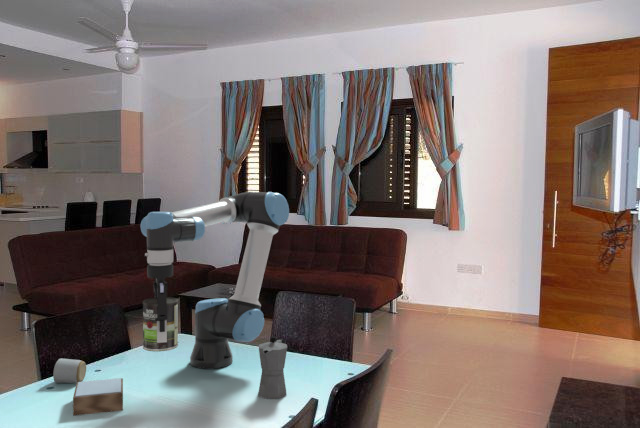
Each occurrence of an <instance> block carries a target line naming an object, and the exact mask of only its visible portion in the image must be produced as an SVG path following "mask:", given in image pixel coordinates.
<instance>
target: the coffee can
mask: <svg viewBox="0 0 640 428" xmlns="http://www.w3.org/2000/svg"><path fill="white" fill-rule="evenodd" d="M166 300H167V342H163V343H157V321H155V318H158V317H157V306H158V304H157V299H156V298H155V296H154V297H149V298H145V299H143V300H142V320H143V321H142V324H143V325H142V341H143V342H142V349H143V350H145V351H147V352H155V353H156V352H157V353H158V352H165V351H166V352H167V351H168V352H169V351H171V350H175V349H177V347H178V346H179V342H178V341H179V340H178V339H179V337H178V336H179V328H178V327H179V324H178V323H179V320H178V318H179V317H178V315H179V313H178V312H179V310H178V309H179V305H178V303H179V299H178V298H176V297H170V296H167V298H166ZM160 316H164V315H160Z"/></svg>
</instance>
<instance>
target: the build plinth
mask: <svg viewBox="0 0 640 428" xmlns="http://www.w3.org/2000/svg"><path fill="white" fill-rule="evenodd" d="M75 384H76V385H75V389H74V393H73V397H72V416H81V415H91V414H101V413H103V414H104V413H111V412H119V411H124V379H123V378H122V377H119V378H118V377H117V378H110V379H109V378H105V379H96V380H85V381H82V382H77V383H75Z"/></svg>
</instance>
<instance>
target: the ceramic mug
mask: <svg viewBox="0 0 640 428" xmlns="http://www.w3.org/2000/svg"><path fill="white" fill-rule="evenodd" d="M86 373H87V364H86V362H85V361H83V360H80V359H72V358H70V359H69V358H58V360H57V361H56V362H55V364H54V368H53V373H52V374H53V375H52V376H53V381H54V383H55V384H76V383H77V382H83V380H84V379H85V377H86V375H87V374H86Z"/></svg>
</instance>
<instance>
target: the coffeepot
mask: <svg viewBox="0 0 640 428" xmlns="http://www.w3.org/2000/svg"><path fill="white" fill-rule="evenodd" d="M287 351H288V344H286V343H285V340H284V339H283V338H279V339H277V340H276V336H270V341H267V342H263V343H260V344H258V354H259V360H260V367H261V374H260V375H261V376H260V382H259V388H258V396H259V397H261V398H262V399H267V400H268V399H269V400H273V399H274V400H276V399H282V398H284V397H286V396H287V386H286V380H285V373H284V372H285V371H284V369H285V364H286V359H287V357H286V356H287Z"/></svg>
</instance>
